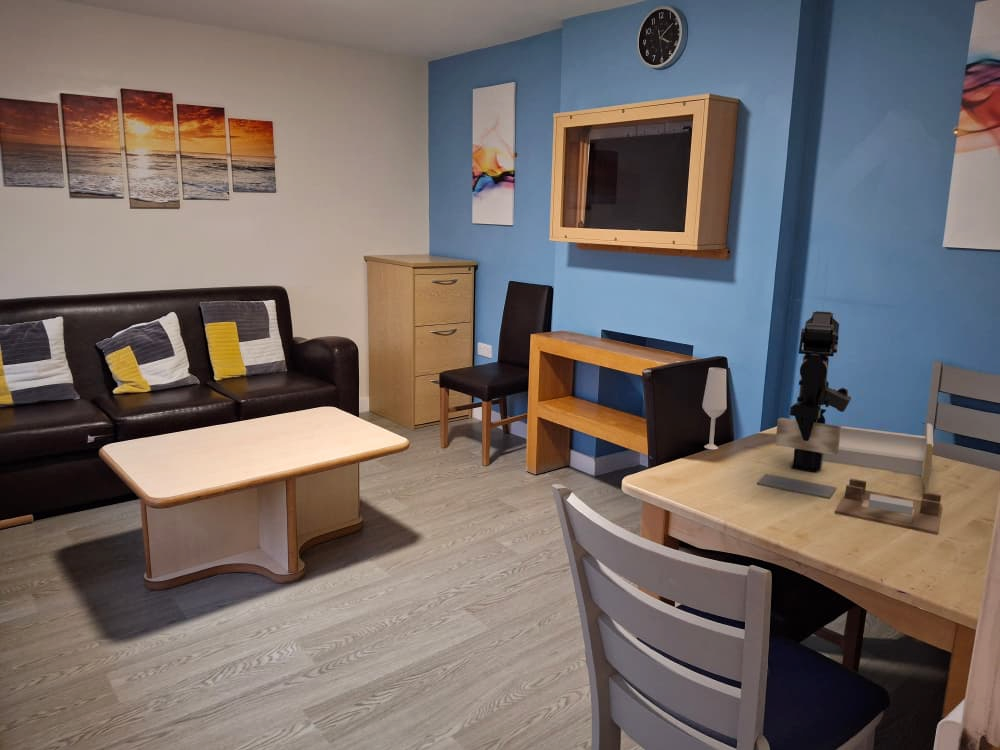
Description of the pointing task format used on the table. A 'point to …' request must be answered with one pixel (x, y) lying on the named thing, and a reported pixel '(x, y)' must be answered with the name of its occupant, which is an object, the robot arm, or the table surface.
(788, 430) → the plywood sheet
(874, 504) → the offcut upper
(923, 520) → the offcut rack
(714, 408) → the champagne flute
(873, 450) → the crown molding
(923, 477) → the baseboard
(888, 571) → the table surface
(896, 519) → the offcut lower
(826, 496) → the slate mat
